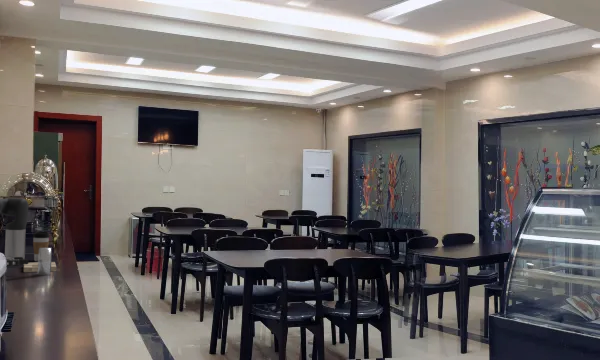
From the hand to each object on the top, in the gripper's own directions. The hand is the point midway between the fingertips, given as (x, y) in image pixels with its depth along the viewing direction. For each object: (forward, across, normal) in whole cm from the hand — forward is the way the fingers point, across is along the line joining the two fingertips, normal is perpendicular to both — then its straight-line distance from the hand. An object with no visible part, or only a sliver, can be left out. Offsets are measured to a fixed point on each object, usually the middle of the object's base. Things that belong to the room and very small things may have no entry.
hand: (25, 260), depth 258 cm
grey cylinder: (+8, 0, +7) cm, 11 cm away
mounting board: (+11, +18, +7) cm, 22 cm away
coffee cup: (+21, +49, +7) cm, 54 cm away
